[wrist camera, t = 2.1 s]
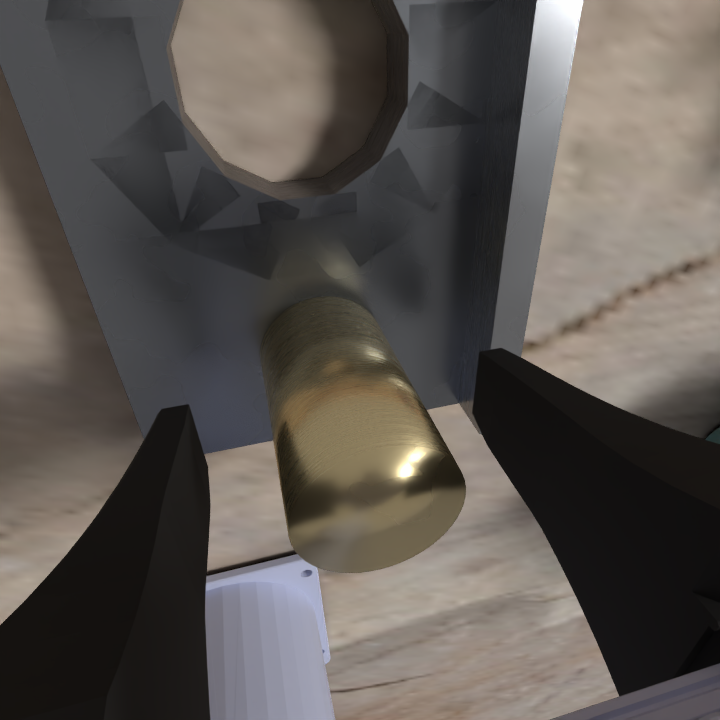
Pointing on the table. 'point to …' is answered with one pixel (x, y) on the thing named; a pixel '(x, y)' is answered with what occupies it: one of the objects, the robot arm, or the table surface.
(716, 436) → the flower pot
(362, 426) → the brass cylinder plug
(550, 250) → the table surface
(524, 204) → the jig
